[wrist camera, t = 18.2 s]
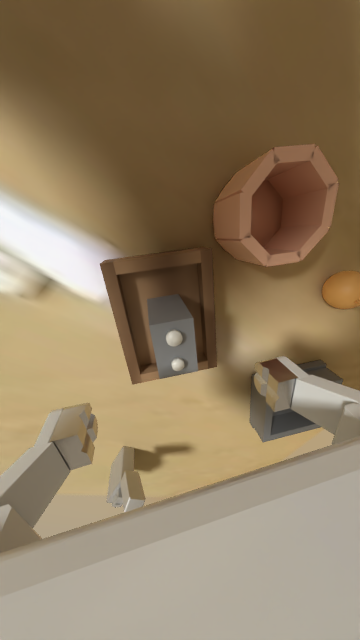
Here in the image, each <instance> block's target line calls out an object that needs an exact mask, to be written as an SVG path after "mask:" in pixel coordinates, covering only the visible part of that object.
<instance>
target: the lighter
mask: <svg viewBox="0 0 360 640" xmlns="http://www.w3.org/2000/svg"><path fill="white" fill-rule="evenodd" d="M134 452H135V449H134V448H131V447H126V446H124V447H122V449H121V450H120V452H119V454H118V455H117V457H116V458H115V460H114V461H113V463H112V465H111V472H110V480H109V487H108V495H107V503H112V506H114V507H121V506H122V504H123V507H124V512H127V511H131V510H134V509H137V508H140V507H143V504H144V502H145V495H144V491H143V488H142V484H141V480H140V476H139V473H138V472H136V471H134Z"/></svg>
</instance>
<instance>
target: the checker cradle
mask: <svg viewBox="0 0 360 640" xmlns="http://www.w3.org/2000/svg"><path fill="white" fill-rule="evenodd" d="M297 366H298V367H299V368H301V369H302V370H303V371H304V372H306V373H307V374H308V375H314V376H317V377H320V378H323V379H326V380H329V381H332V382H335V383H338V384H341V385H342V382H343V379H342V378H340V377H339V376H337V375H336V374H335V373H333V372H332V371H331V370H329V369H328V368H326V363H324V362H323V361H321V360H317V361H312V362H308V363H303V364H299V365H297ZM254 375H255V374H253V375H252V383H251V404H250V424H251V426H252V427H253V428H255V430H256V432H257V433H258V435H259V437H260V438H261V440H262V442H266V441H270V440H274V439H278V438H282V437H285V436H289V435H293V434H297V433H301V432H304V431H308V430H312V429H316V428H320V427H321V426H319V425H317V424H315V423H314V422H312V421H310V420H309V419H307V418H305V417H304V416H302V415H300V414H298V413H297V412H295V411H293V410H292V409H291V408H289V409H285V410H281V411H277V412H274V411H273V410H272V409H271V407H270V406H269V405H268V403H267V402H266V397H265V396H263V395H261V394H260V393H259V392H258V391H257V389H256V387H255V383H254Z"/></svg>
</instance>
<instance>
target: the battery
mask: <svg viewBox="0 0 360 640" xmlns="http://www.w3.org/2000/svg"><path fill="white" fill-rule="evenodd" d="M147 306H148V318H149V328H150V333H151V338H152V343H153V348H154V353H155V358H156V363H157V368H158V373H159V378H160V379H162V378H167V377H172V376H177V375H181V374H186V373H191V372H196V371H198V363H197V353H196V342H195V331H194V320H193V317H192V315H191V313H190V312H189V310H188V309H187V307H186V305H185V304H184V302H183V301H182V299H181V297H180V296H179V294H175V295H169V296H163V297H157V298H150V299H147Z"/></svg>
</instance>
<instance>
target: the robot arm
mask: <svg viewBox="0 0 360 640" xmlns="http://www.w3.org/2000/svg"><path fill="white" fill-rule="evenodd" d="M255 370H256V371H257V373H256V374H255V375H254V383H255V387H256V389H257V391H258V392H259V393H260V394H261V395H263V396H265V397H266V402H267V403H268V405H269V406H270V407H271V409H272V410H273V411H274V412H277V411H281V410H285V409H289V408H291V409H292V410H293V411H295V412H297V413H298V414H300V415H302V416H304V417H305V418H307V419H309V420H310V421H312V422H314V423H315V424H317V425H319V426H321V427H322V428H324V429H326V430H328V431H329V432H331V433H333V434H334V435H335V436H334V439H333V441H332V445H331V446H327V447H324V448H322V449H318V450H315V451H312V452H309V453H306V454H303V455H300V456H297V457H294V458H291V459H288V460H284V461H281V462H278V463H275V464H272V465H269V466H266V467H263V468H260V469H256V470H253V471H250V472H247V473H244V474H241V475H238V476H235V477H232V478H229V479H226V480H223V481H220V482H216V483H213V484H210V485H207V486H204V487H201V488H198V489H195V490H192V491H189V492H186V493H183V494H180V495H177V496H174V497H170V498H167V499H164V500H162V501H159V502H155V503H152V504H149V505H146V506H143V507H140V508H137V509H134V510H131V511H127V512H124V513H121V514H118V515H115V516H112V517H109V518H106V519H103V520H100V521H97V522H94V523H91V524H88V525H85V526H81V527H79V528H75V529H72V530H69V531H66V532H63V533H60V534H57V535H54V536H51V537H48V538H44V539H42V538H41V537H40V536H39V535H38V534H37V533H36V532H35V531H34V530H33V527H34V525H35V524H36V523H37V521H38V520H39V518H40V517H41V515H42V514H43V512H44V511H45V509H46V508H47V506H48V504H49V503H50V502H51V500H52V499H53V497H54V496H55V494H56V493H57V491H58V490H59V488H60V487H61V485H62V484H63V482H64V481H65V479H66V478H67V476H68V475H69V473H70V470H73V469H76V468H79V467H83V466H86V465H89V464H92V461H93V455H94V450H95V447H94V444H93V442H94V440H95V439H96V438H97V432H98V424H97V419H96V417H95V415H93V414H91V411H92V407H91V405H90V403H84V404H80V405H75V406H70V407H65V408H62V409H57V410H53V411H51V412H50V413H49V415H48V417H47V419H46V421H45V423H44V426H43V428H42V430H41V432H40V434H39V436H38V438H37V441H36V443H35V445H34V447H31V448H29V449H28V450H27V451H26V452H25V453H24V454H23V455H22V456H21V457H20V458H19V459H17V460H16V461H15V462H14V463H13V464H12V465H11V466H10V467H9V468H8V469H7V470H6V471H5V472H4V473H3V474H2V475H1V476H0V640H360V391H359V390H356V389H353V388H350V387H347V386H344V385H341V384H338V383H335V382H332V381H329V380H326V379H323V378H320V377H317V376H314V375H308V374H307V373H306V372H304V371H303V370H302V369H301V368H299V367H298V366H297V365H296V364H294V363H293V362H292V361H291V360H290V359H288V358H287V357H285V356H280V357H276V358H273V359H269V360H265V361H261V362H257V363H256V364H255Z"/></svg>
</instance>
